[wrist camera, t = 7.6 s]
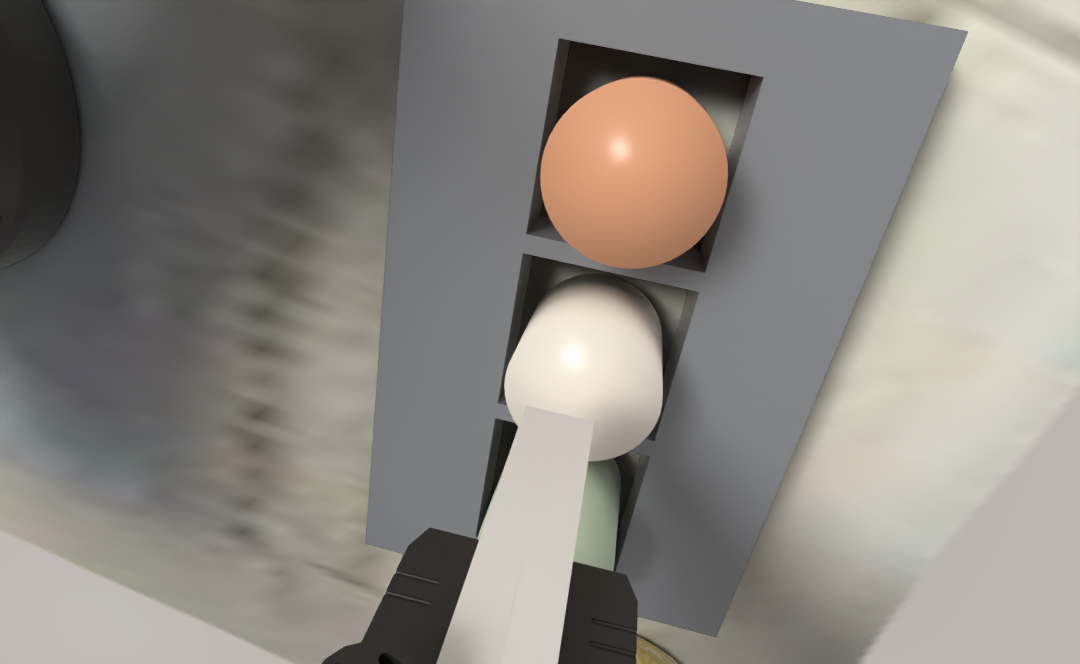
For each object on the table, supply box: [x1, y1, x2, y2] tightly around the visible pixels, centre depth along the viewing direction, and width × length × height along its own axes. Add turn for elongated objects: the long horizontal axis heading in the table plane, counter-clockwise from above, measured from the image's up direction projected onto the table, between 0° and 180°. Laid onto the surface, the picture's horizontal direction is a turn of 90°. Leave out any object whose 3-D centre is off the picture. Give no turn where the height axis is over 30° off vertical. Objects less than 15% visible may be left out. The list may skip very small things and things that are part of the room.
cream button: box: [504, 274, 663, 461], centre depth 19 cm, size 4×4×4 cm
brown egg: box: [540, 75, 728, 269], centre depth 17 cm, size 4×4×4 cm
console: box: [366, 0, 968, 637], centre depth 21 cm, size 14×21×2 cm, turn 170°
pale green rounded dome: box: [478, 458, 621, 571], centre depth 22 cm, size 4×4×4 cm
